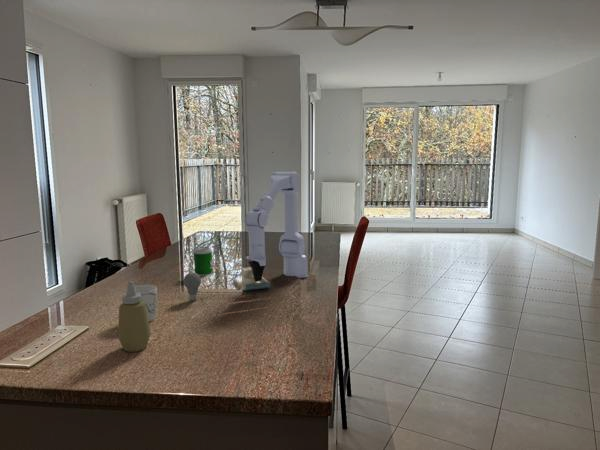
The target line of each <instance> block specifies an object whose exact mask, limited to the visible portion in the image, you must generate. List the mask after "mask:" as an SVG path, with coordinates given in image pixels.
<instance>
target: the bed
mask: <svg viewBox="0 0 600 450" xmlns="http://www.w3.org/2000/svg"><path fill="white" fill-rule="evenodd" d="M262 282H269V280H267V279H266V278H264V277H263V276H262V279H261V281H257V283H262ZM232 283H233V284H234V285H235V286H236V287H237V289H239V290H243V288H244V286H245V284H244V283H243V282H242V280H241V281H238V280H237V279H236V278H232Z"/></svg>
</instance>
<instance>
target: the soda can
mask: <svg viewBox="0 0 600 450" xmlns="http://www.w3.org/2000/svg"><path fill="white" fill-rule="evenodd" d="M193 264H194V265H193V266H194V273H197V274H198V275H199V276H200V277H204V276H210V275H212V274H213V273H214V267H213V265H214V264H213V250H212V248H210V246H209V247H208V246H201V247H200V246H199V247H196V248H195V249H193Z"/></svg>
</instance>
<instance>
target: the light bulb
mask: <svg viewBox="0 0 600 450" xmlns="http://www.w3.org/2000/svg"><path fill="white" fill-rule="evenodd" d="M182 282H183V285H184V286H185V289H186V290H187V294H188V296H189V300H190V301H192V302H194V301H197V299H198V297H197V296H198V290H199V288H200V286H201V283H202V278H201V276H199V275H198V274H197V273H195V271H194V272H188V273H186V275H184V278H183V281H182Z"/></svg>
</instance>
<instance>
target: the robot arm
mask: <svg viewBox="0 0 600 450" xmlns="http://www.w3.org/2000/svg"><path fill="white" fill-rule="evenodd" d="M300 178H301V177H300V175H299V174H298V173H297V172H296V171H274V172H273V173H272V175H271V176H270V185H269V187H268V190H267V191H266V193H265V195H262V196H261V197H259V199H258V201H257V202H256V204H255V206H254V207H253V208H252V210H249V211H248V212H247V213H246V214H245V216H244V217H245V218H244V224H245V227H246V231H247V232H248V254H249V255H248V256H245V259H246V260H250V261H248V265H249V267H251V269H252V272H253V276H254V280H255V281H256V282H257V281H261V279H262V277H263V273H264V270H265V268H266V266H267V261H266V258H267V257H266V243H265V242H266V240H265V239H266V237H265V236H266V235H265V227H266V226H267V225H268V219H269V214H270V213H271V211H272V210H273V207H274V205H275V204H274V203H275V202H274V200H275V199H276V198H277V197H278V195H279V194H280V192H282V193H283V196H284V233H283V234H282V235H281V236H280V237H279V243H278V250H279V253H280V254H281V256H283V274H284V276H287V277H296V278H298V279H301V278H308V277H309V275H308V260H307V255H305V252H306V243H305V237H304V236H303V235H302V234H301V233H300V232H298V230H299V229H298V193H299V192H300V190H301V189H300V188H301V185H300V184H301V183H300V182H301V181H300Z"/></svg>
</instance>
